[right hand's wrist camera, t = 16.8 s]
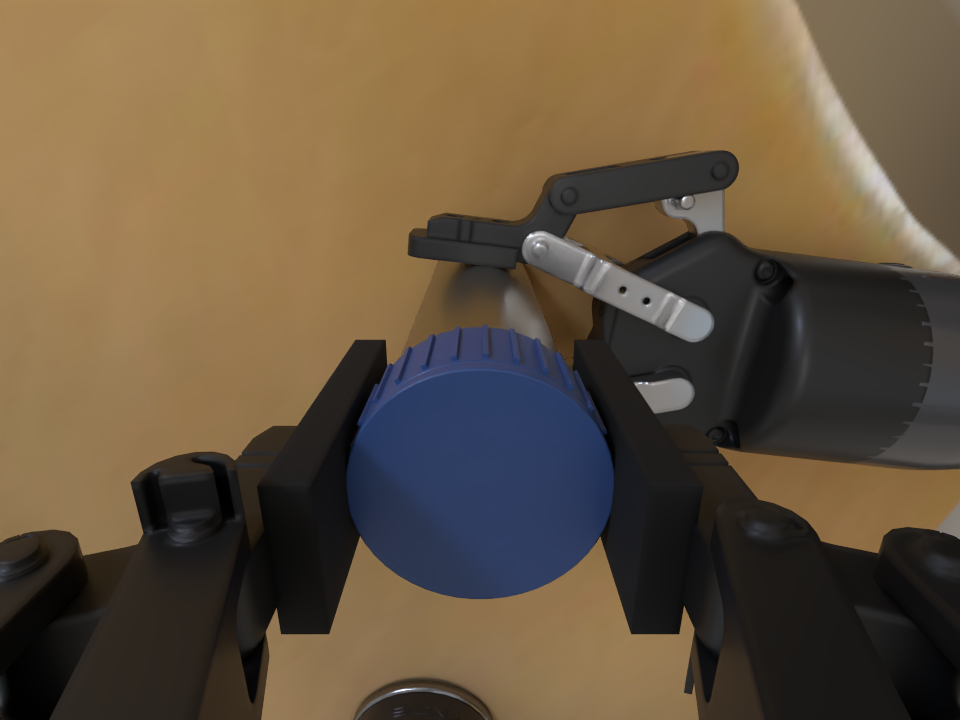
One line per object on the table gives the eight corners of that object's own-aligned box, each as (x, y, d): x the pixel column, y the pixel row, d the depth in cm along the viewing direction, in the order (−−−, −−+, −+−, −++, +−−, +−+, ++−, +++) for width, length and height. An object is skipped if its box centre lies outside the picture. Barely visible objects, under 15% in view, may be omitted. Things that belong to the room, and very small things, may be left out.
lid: (382, 532, 13) (362, 609, 11) (350, 332, 11) (318, 375, 9) (594, 519, 13) (617, 595, 11) (593, 314, 11) (622, 353, 9)
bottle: (543, 260, 26) (640, 423, 10) (501, 341, 27) (530, 593, 12) (457, 219, 25) (418, 324, 9) (419, 304, 26) (331, 518, 11)
